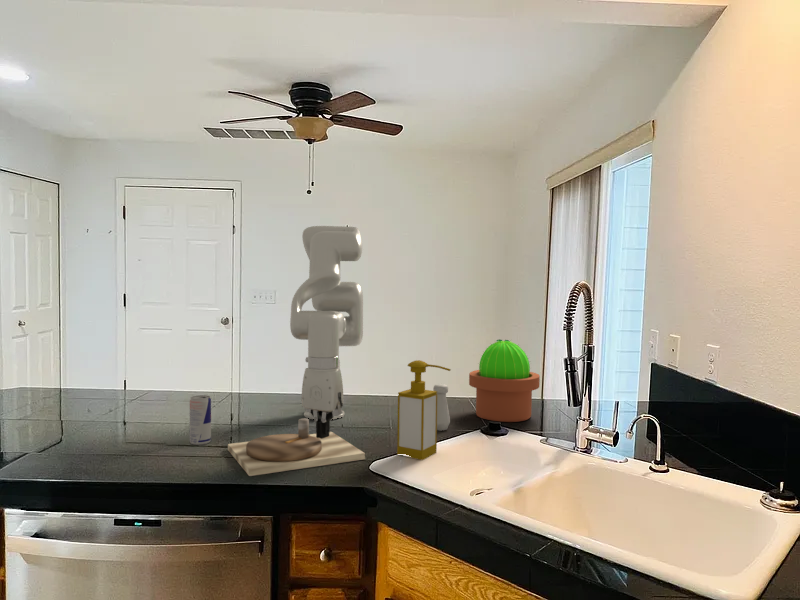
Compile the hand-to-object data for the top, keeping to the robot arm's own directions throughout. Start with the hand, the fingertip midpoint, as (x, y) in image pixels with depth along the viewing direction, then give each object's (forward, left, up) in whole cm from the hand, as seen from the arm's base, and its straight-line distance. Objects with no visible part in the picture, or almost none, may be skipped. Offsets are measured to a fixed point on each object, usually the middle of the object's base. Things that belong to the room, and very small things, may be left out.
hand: (322, 436), depth 148 cm
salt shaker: (-9, +40, -5) cm, 41 cm away
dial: (-2, -9, -3) cm, 10 cm away
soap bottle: (+12, +23, -5) cm, 26 cm away
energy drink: (-24, -25, -5) cm, 35 cm away
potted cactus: (-14, +67, -5) cm, 68 cm away
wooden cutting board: (-3, -6, -4) cm, 8 cm away
